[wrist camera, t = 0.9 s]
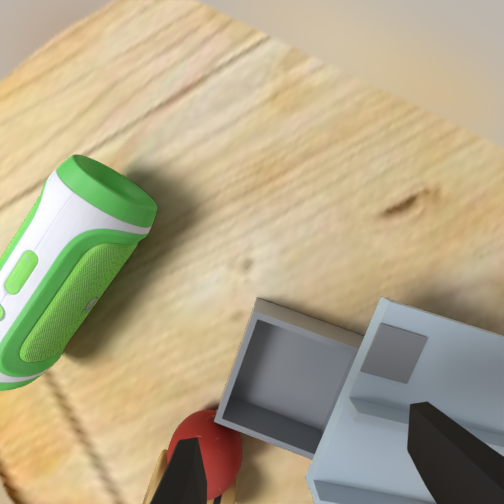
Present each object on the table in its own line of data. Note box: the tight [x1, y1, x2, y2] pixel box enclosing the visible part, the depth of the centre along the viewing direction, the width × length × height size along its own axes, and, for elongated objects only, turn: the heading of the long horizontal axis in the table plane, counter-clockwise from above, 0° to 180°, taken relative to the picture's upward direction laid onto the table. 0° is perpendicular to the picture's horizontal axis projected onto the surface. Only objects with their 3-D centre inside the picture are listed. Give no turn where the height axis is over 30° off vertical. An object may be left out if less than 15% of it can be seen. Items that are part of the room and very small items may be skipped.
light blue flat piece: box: [305, 297, 504, 504], centre depth 17 cm, size 12×13×2 cm
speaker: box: [0, 155, 158, 391], centre depth 22 cm, size 18×7×8 cm, turn 142°
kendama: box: [143, 410, 242, 504], centre depth 24 cm, size 8×6×18 cm
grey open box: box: [214, 298, 364, 460], centre depth 23 cm, size 10×10×4 cm
